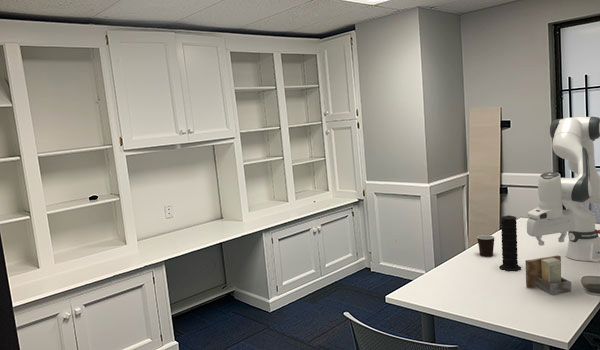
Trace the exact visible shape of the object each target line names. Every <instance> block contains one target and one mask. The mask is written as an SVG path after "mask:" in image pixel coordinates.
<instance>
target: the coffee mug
mask: <svg viewBox="0 0 600 350" xmlns="http://www.w3.org/2000/svg"><path fill="white" fill-rule="evenodd" d="M476 239H477V244H478V245H477V246H478V251H479V256H480V257H483V258H491V257H492V258H493V256H494V247H495V236H494V235H490V234H481V235H477V237H476Z"/></svg>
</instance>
